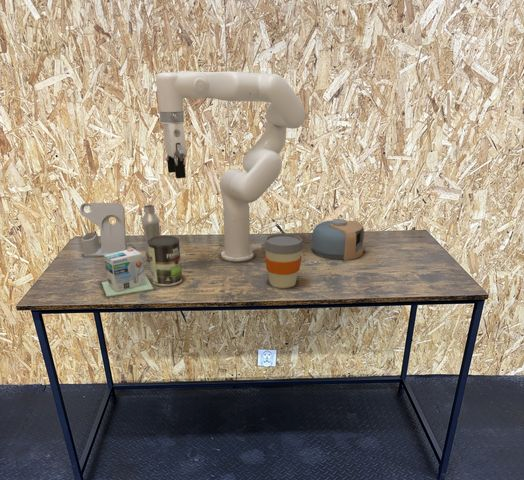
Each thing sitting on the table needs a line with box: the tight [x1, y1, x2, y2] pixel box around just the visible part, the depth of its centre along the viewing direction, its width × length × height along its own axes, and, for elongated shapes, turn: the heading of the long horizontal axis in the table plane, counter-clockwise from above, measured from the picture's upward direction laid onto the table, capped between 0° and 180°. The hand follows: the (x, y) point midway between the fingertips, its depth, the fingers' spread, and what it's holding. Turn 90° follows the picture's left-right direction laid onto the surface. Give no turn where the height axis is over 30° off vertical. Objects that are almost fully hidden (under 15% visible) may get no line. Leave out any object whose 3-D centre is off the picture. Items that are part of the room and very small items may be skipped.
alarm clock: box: [311, 218, 365, 261], centre depth 191 cm, size 19×20×12 cm
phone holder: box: [79, 202, 133, 258], centre depth 189 cm, size 17×10×18 cm, turn 91°
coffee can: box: [147, 235, 183, 287], centre depth 165 cm, size 10×10×14 cm
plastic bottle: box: [141, 204, 161, 262], centre depth 181 cm, size 6×7×20 cm
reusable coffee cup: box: [263, 233, 304, 289], centre depth 164 cm, size 13×13×15 cm
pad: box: [101, 275, 155, 298], centre depth 164 cm, size 15×12×1 cm
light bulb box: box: [103, 247, 146, 292], centre depth 161 cm, size 11×7×11 cm, turn 129°
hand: (176, 175), depth 162 cm, fingers open, 9 cm apart
